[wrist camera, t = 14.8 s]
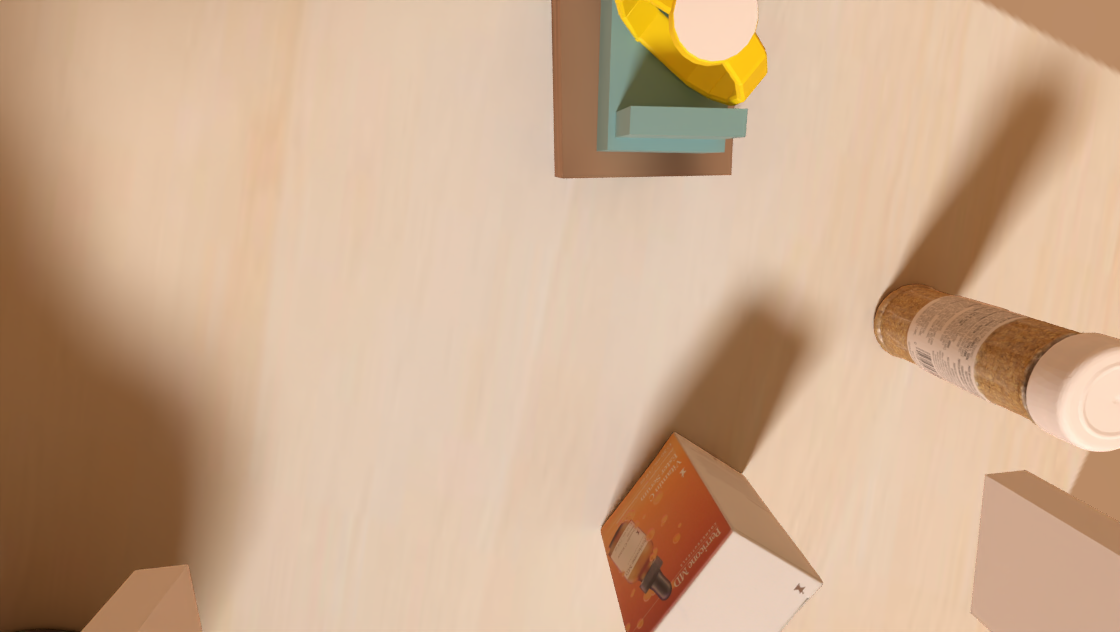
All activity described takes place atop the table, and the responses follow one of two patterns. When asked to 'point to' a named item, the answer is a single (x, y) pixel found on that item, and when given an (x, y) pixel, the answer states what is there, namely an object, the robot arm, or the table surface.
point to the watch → (702, 43)
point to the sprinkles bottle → (1010, 361)
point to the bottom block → (579, 108)
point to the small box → (702, 550)
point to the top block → (653, 100)
